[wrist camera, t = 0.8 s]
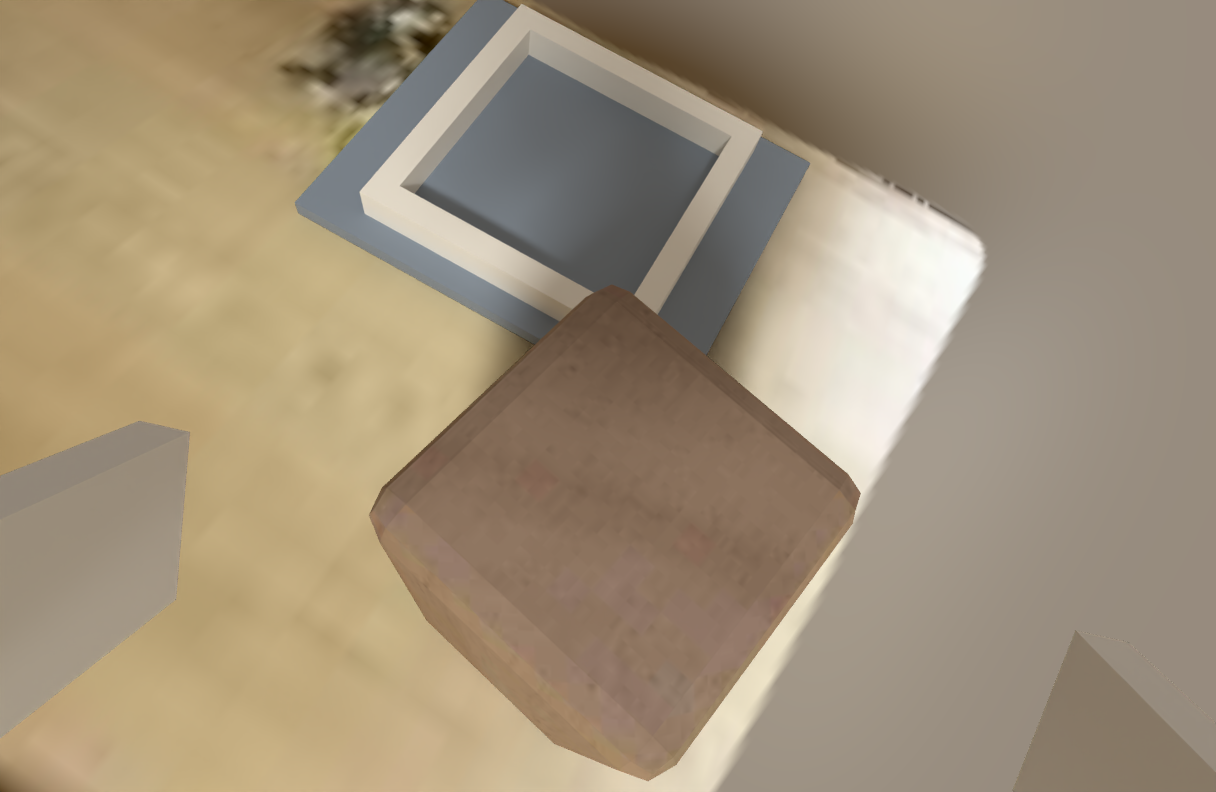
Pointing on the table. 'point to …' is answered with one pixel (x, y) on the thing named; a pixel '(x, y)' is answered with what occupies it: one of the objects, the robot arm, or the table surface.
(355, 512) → the table surface
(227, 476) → the table surface
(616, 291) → the block
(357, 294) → the table surface
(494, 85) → the grey square frame tray
